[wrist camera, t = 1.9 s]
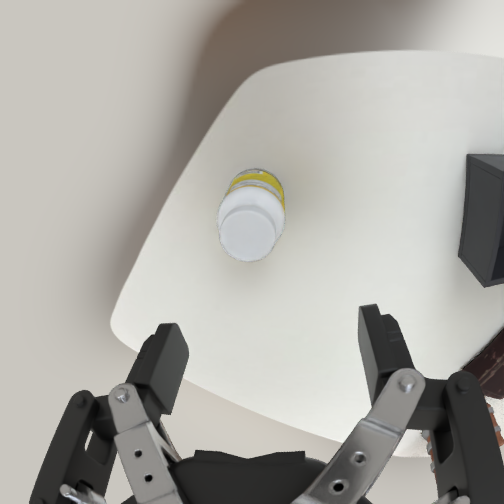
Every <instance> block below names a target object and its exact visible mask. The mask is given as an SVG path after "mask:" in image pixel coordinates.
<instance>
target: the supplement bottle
mask: <svg viewBox="0 0 504 504" xmlns="http://www.w3.org/2000/svg"><path fill="white" fill-rule="evenodd" d="M284 226H285V206H284V193H283V188H282V185H281V183H280V182H279V180H278V179H277V178H276V177H275V176H274V175H273V174H272V173H270V172H268V171H266V170H263V169H256V168H255V169H248V170H245V171H243V172H241V173H239V174H238V175H237V176H236V177H235V178H234V179H233V181H232V182H231V184H230V186H229V188H228V190H227V192H226V194H225V196H224V198H223V200H222V202H221V204H220V206H219V208H218V212H217V227H218V230H219V239H220V243H221V245H222V247H223V249H224V250H225V252H226V253H227V254H228V255H230V256H231V257H233V258H234V259H237V260H239V261H244V262H253V261H258V260H260V259H262V258H264V257H266V256H267V255H268V254H269V253H270V252H271V251H272V249H273V247H274V245H275V243H276V242H277V240H278V239H279V238H280V236H281V235H282V232H283V230H284Z"/></svg>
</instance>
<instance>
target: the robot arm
mask: <svg viewBox="0 0 504 504" xmlns="http://www.w3.org/2000/svg"><path fill="white" fill-rule="evenodd" d="M358 342H359V347H360V352H361V356H362V361H363V365H364V370H365V375H366V380H367V385H368V390H369V395H370V400H371V406H372V408H371V410H370V411H369V413H368V414H367V416H366V417H365V418H362V419H361V420H360V421H359V422H358V424H357V425H356V426H355V428H354V429H353V431H352V432H351V434H350V435H349V436H348V438H347V439H346V441H345V442H344V443H343V445H342V446H341V448H340V449H339V450H338V451H337V453H336V454H335V455H334V457H333V458H332V459H331V460H330V462H329V463H328V464H326V463H325V462H322V461H319V460H317V459H313V458H308V457H306V456H305V451H295V452H276V453H272V454H268V455H263V456H259V457H254V458H249V459H246V458H242V457H238V456H234V455H231V454H227V453H223V452H218V451H204V450H195V454H194V456H193V457H189V458H186V459H182V458H181V457H180V456H179V454H178V453H177V452H176V450H175V448H174V446H173V444H172V442H171V440H170V438H169V436H168V434H167V432H166V430H165V428H164V426H163V424H162V422H161V420H160V417H161V414H166V415H171V413H172V409H173V406H174V403H175V399H176V396H177V393H178V390H179V387H180V384H181V380H182V377H183V374H184V371H185V368H186V365H187V362H188V358H189V349H188V346H187V343H186V341H185V339H184V337H183V335H182V333H181V330H180V328H179V326H178V324H176V323H163V324H160V325H159V326H158V328H157V330H156V332H155V335H151V336H150V337H149V338H148V339H147V340H146V341H145V342H144V343H143V345H142V348H141V350H140V352H139V354H138V356H137V359H136V360H135V362H134V364H133V367H132V369H131V371H130V373H129V375H128V377H127V380H126V382H125V383H122V384H119V385H117V386H116V387H114V388H113V389H112V390H111V392H110V393H109V395H105V396H99V397H94V396H93V395H92V393H91V392H90V391H87V390H82V391H79V392H77V393H75V394H74V395H73V396H72V398H71V399H70V401H69V403H68V405H67V407H66V410H65V412H64V414H63V416H62V418H61V421H60V423H59V425H58V427H57V430H56V432H55V435H54V437H53V439H52V441H51V444H50V446H49V449H48V451H47V454H46V456H45V459H44V461H43V464H42V466H41V469H40V472H39V474H38V478H37V480H36V483H35V486H34V489H33V491H32V494H31V497H30V501H29V504H107V503H106V500H105V499H104V496H105V493H106V489H107V485H108V482H109V478H110V474H111V471H112V467H113V464H114V461H115V457H116V454H117V451H118V453H119V456H120V459H121V462H122V465H123V467H124V471H125V473H126V476H127V478H128V481H129V484H130V486H131V489H132V491H133V494H134V495H133V496H131V497H130V498H128V499H127V500H126V501H124V502H123V503H121V504H372V503H371V502H370V501H369V500H368V499H367V498H366V497H365V496H366V494H367V493H368V492H369V490H370V489H371V487H372V486H373V484H374V483H375V482H376V480H377V479H378V477H379V476H380V474H381V472H382V471H383V469H384V467H385V465H386V464H387V462H388V461H389V459H390V458H391V456H392V454H393V453H394V451H395V449H396V447H397V446H398V444H399V442H400V440H401V439H402V437H403V435H404V433H405V431H406V430H407V429H415V430H429V435H430V440H431V446H432V452H433V459H434V465H435V473H436V481H437V490H438V500H436V501H435V502H433V503H432V504H504V465H503V460H502V456H501V452H500V448H499V444H498V440H497V436H496V433H495V429H494V426H493V422H492V419H491V416H490V413H489V409H488V406H487V403H486V400H485V397H484V395H483V392H482V389H481V386H480V384H479V381H478V379H477V378H476V376H474V375H473V374H472V373H470V372H467V371H458V372H455V373H453V374H452V375H451V376H450V377H449V378H448V380H438V379H429V378H426V377H424V376H423V375H422V374H421V373H420V372H419V371H417V370H416V369H415V367H414V365H413V362H412V359H411V356H410V354H409V351H408V348H407V345H406V343H405V340H404V337H403V335H402V332H401V330H400V327H399V325H398V322H397V321H396V320H395V319H394V318H393V317H392V316H391V315H390V314H386V315H381V314H380V311H379V309H378V306H377V304H371V305H364V306H359V317H358ZM90 430H91V431H92V432H93V434H92V436H91V439H90V442H89V445H88V448H87V450H86V451H85V443H86V440H87V437H88V435H89V432H90Z"/></svg>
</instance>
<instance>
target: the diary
mask: <svg viewBox="0 0 504 504" xmlns="http://www.w3.org/2000/svg"><path fill="white" fill-rule="evenodd" d="M462 371H467V372H470V373H472V374H473V375H474V376H476V378H477V379H478V381H479V384H480V386H481V389H482V392H483V395H486V396H488V397H492V398H495V399H503V398H504V329H503V330H502V332H501V333H500V334H499V335H498V336H497V337H496V338H495V340H494V341H493V342H492V343H491V344H490V345H489V346H488V347H487V348H486V349H485V350H484V351H483V352H482V353H481V354H480V355H479V356H478V357H476V358H475V359H474V360H473V361H472V362H471V363H470V364H469V365H467V366H466V367H465V368H464V369H463V370H462Z"/></svg>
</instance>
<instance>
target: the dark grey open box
mask: <svg viewBox="0 0 504 504" xmlns="http://www.w3.org/2000/svg"><path fill="white" fill-rule="evenodd" d="M458 257H459V258H460V259H461V260H462V261H463V262H464V264H465V265H466V266H467V267H468V268H469V270H470V271H471V272H472V273H473V275H474V276H475V277H476V278H477V280H478V281H479V282H480V283H481V285H482V286H483V287H484V288H485V287H490V286H494V285H498V284H502V283H504V155H496V154H467V173H466V193H465V206H464V217H463V226H462V234H461V241H460V248H459V254H458Z"/></svg>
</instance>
